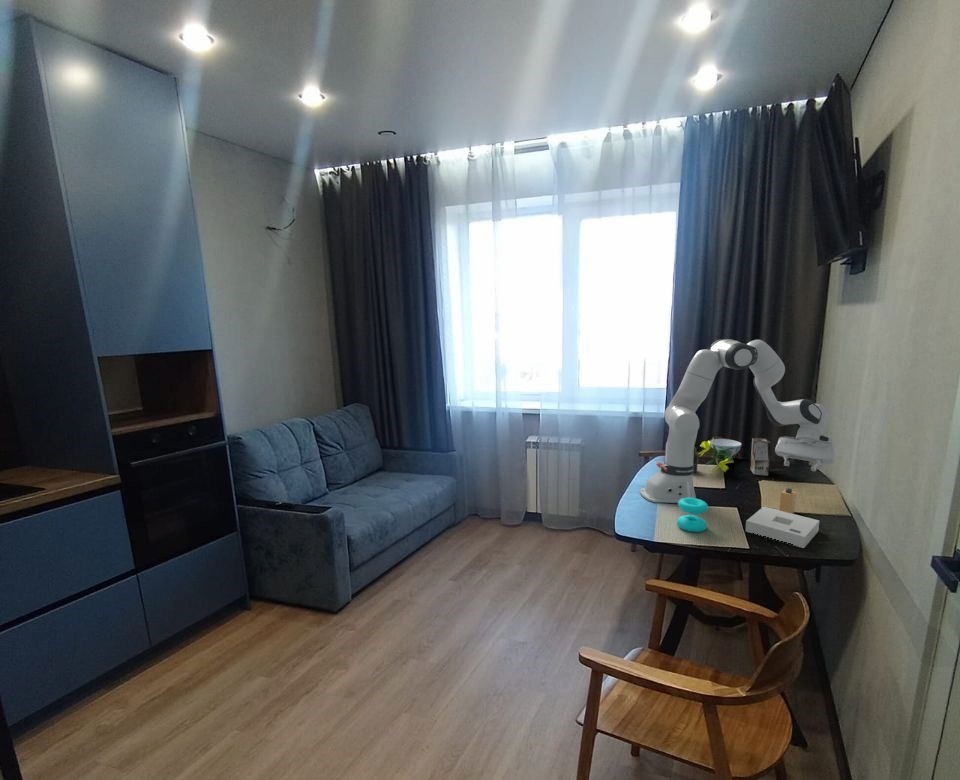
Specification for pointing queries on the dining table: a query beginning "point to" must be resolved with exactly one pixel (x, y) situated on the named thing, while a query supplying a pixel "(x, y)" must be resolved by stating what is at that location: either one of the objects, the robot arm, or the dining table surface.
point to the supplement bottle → (695, 460)
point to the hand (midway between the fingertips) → (799, 467)
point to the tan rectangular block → (787, 501)
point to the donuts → (692, 521)
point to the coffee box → (760, 456)
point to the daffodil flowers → (717, 453)
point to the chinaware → (726, 445)
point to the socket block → (783, 526)
